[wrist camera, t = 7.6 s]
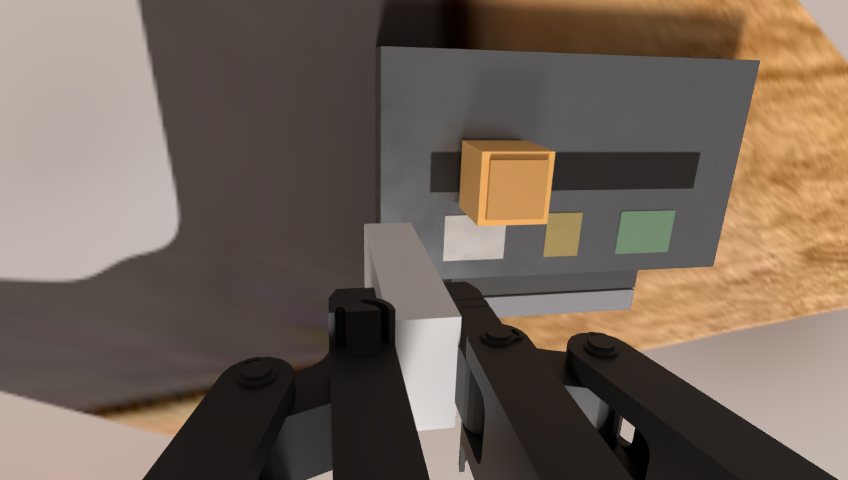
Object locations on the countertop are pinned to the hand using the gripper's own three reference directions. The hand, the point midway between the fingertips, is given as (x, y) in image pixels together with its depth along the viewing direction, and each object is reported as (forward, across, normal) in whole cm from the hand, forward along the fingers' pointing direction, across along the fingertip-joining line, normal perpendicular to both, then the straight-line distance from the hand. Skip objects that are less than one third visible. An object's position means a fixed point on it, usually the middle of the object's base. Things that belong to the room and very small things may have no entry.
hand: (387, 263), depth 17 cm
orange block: (+14, +8, 0) cm, 16 cm away
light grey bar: (+17, +13, -10) cm, 24 cm away
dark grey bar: (+17, +13, -8) cm, 23 cm away
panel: (+17, +13, 0) cm, 22 cm away
